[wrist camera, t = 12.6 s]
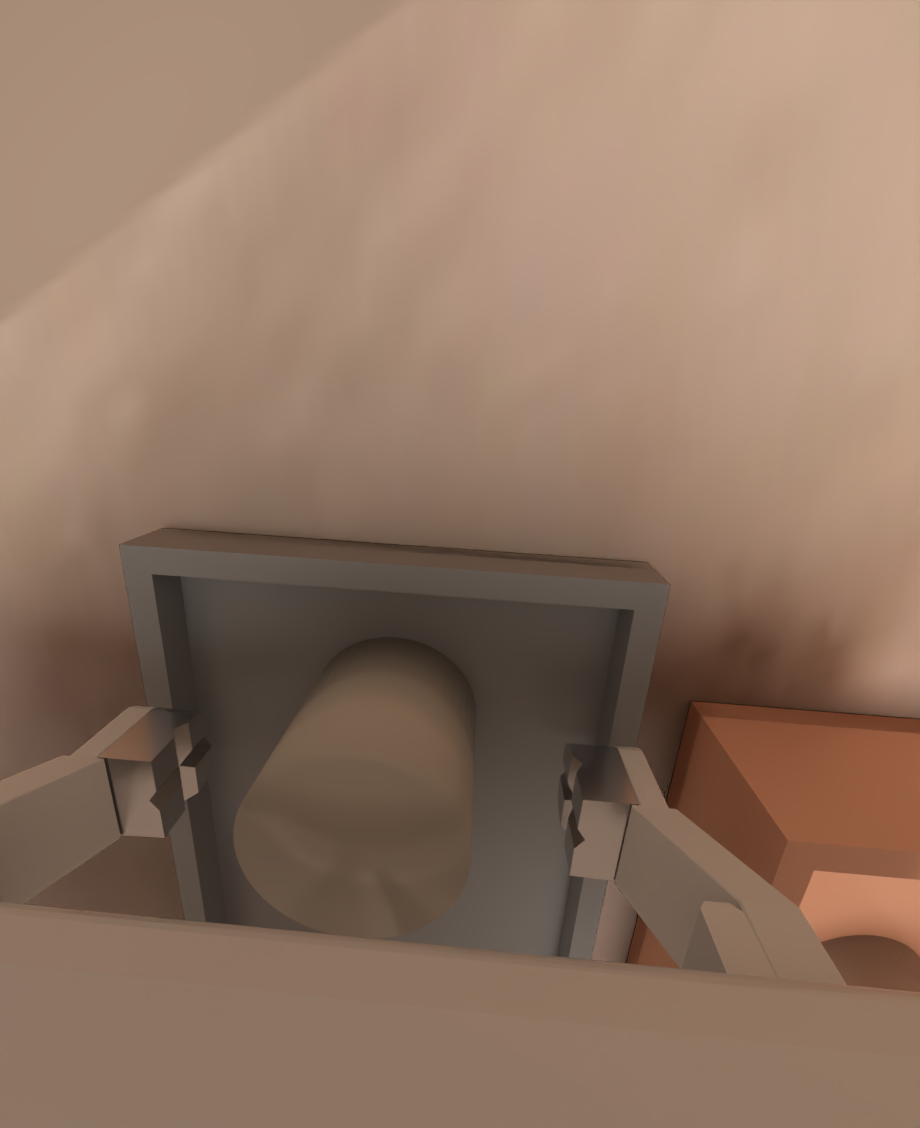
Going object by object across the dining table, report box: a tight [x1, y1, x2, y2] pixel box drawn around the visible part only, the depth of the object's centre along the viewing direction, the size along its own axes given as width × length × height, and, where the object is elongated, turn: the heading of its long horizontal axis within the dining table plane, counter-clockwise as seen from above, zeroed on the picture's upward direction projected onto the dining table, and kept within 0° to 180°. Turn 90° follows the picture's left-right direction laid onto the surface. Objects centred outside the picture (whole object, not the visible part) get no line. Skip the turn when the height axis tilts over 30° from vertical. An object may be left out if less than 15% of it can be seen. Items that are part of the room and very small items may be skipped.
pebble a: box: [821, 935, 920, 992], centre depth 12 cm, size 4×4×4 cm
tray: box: [119, 528, 670, 960], centre depth 13 cm, size 15×11×1 cm
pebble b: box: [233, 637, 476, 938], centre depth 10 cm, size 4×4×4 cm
